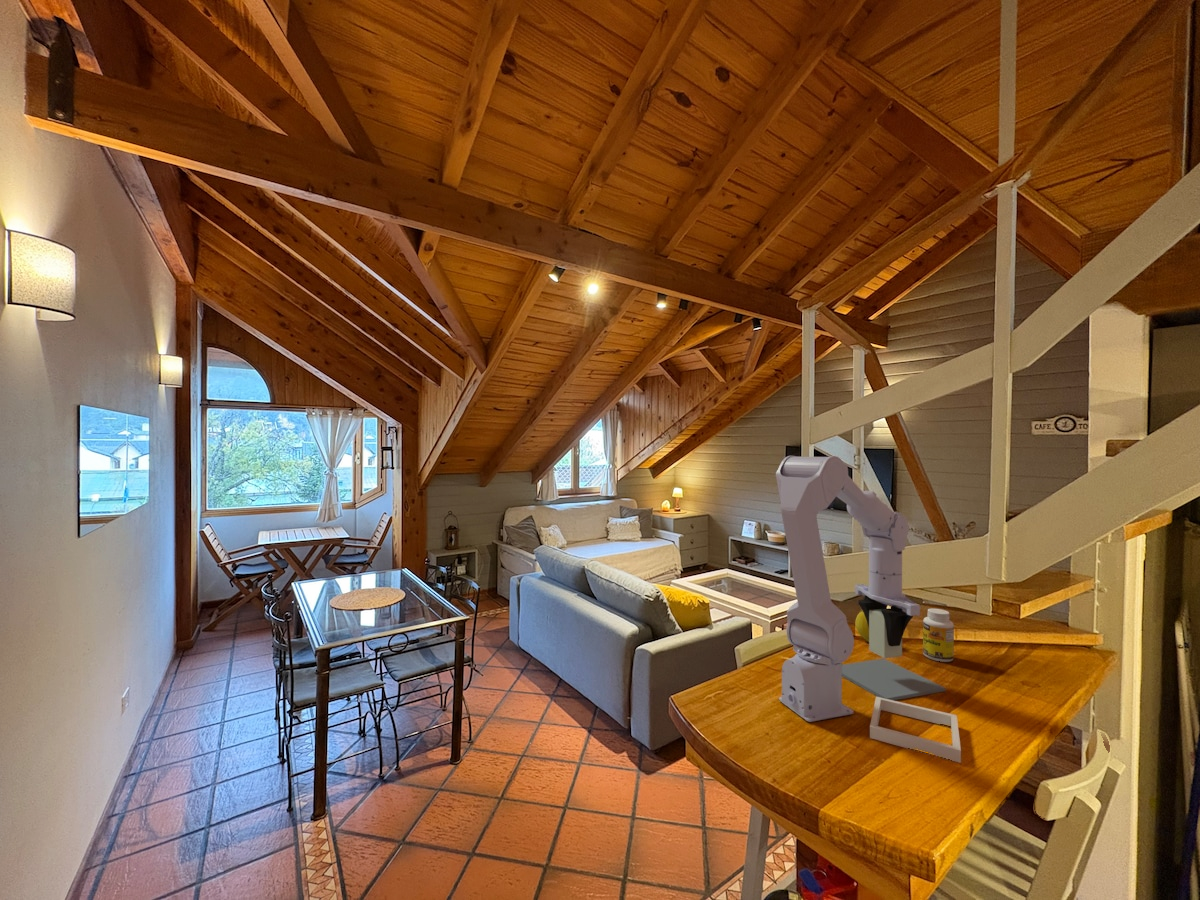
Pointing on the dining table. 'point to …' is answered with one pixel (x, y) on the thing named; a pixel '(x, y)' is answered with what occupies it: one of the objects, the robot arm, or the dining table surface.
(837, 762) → the dining table surface
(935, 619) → the supplement bottle
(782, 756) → the dining table surface
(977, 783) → the dining table surface
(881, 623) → the block
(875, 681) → the mat
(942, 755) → the rectangular frame
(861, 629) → the fruit
